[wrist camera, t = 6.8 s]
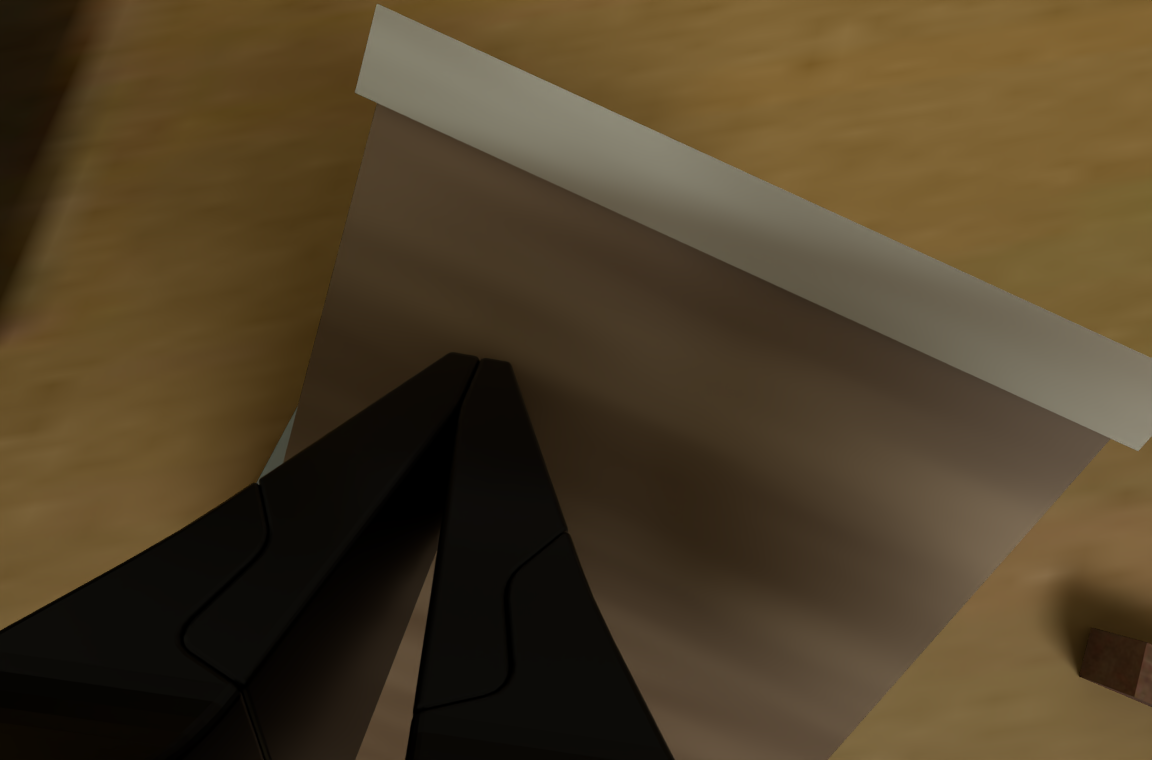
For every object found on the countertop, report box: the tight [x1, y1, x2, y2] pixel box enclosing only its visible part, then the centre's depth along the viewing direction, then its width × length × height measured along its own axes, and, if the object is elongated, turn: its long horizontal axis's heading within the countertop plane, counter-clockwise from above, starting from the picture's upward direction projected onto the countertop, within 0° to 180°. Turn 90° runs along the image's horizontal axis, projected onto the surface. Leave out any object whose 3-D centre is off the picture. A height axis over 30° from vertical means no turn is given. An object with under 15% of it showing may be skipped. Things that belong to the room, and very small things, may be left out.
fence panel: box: [283, 4, 1152, 760], centre depth 10 cm, size 1×10×15 cm
